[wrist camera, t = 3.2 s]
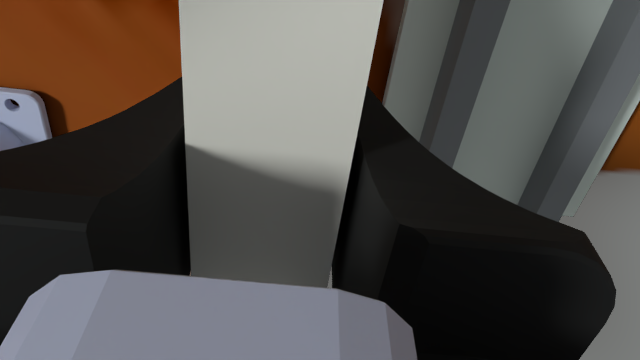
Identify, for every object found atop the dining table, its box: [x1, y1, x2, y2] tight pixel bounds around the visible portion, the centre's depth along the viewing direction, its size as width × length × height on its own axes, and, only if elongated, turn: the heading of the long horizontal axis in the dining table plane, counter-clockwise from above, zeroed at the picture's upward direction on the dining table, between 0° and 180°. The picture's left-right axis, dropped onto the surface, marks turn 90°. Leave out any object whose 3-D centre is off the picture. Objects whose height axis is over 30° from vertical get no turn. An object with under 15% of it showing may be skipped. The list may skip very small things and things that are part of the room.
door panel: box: [179, 0, 384, 288], centre depth 11 cm, size 2×10×7 cm, turn 173°
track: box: [382, 0, 640, 222], centre depth 16 cm, size 9×16×2 cm, turn 173°
